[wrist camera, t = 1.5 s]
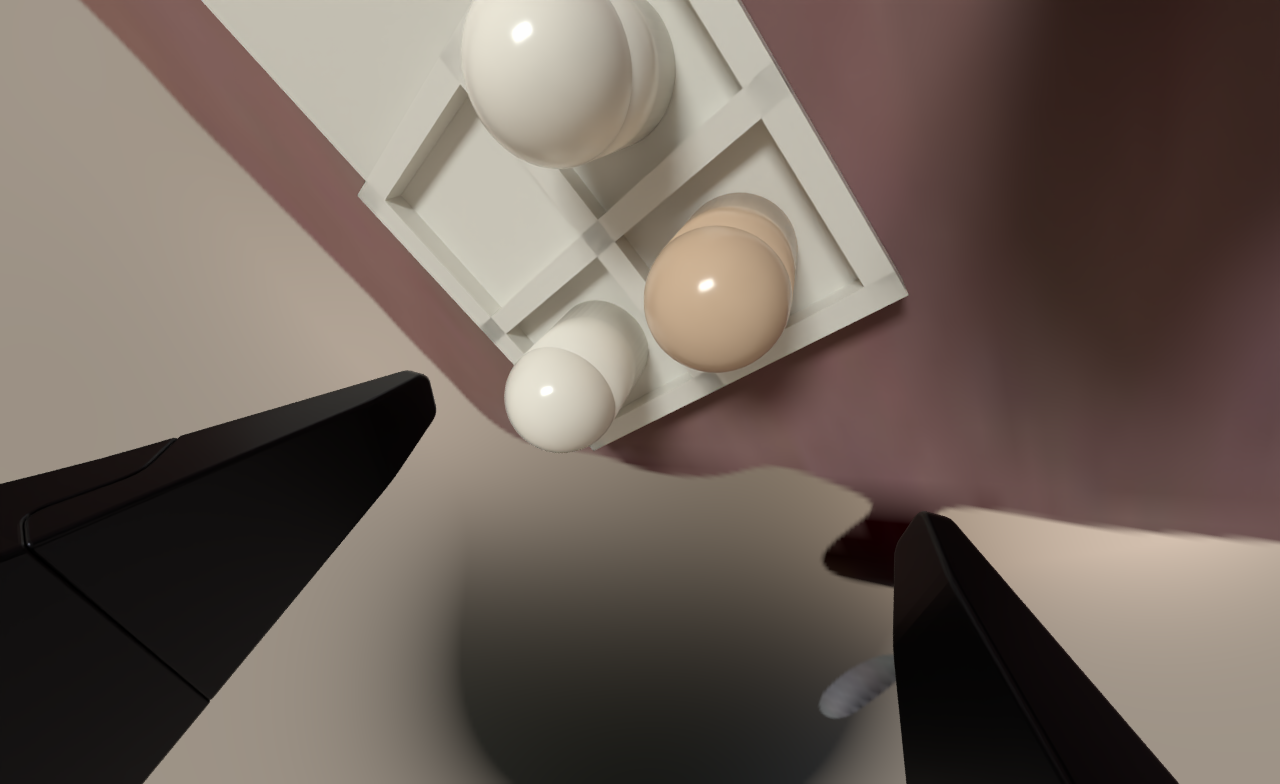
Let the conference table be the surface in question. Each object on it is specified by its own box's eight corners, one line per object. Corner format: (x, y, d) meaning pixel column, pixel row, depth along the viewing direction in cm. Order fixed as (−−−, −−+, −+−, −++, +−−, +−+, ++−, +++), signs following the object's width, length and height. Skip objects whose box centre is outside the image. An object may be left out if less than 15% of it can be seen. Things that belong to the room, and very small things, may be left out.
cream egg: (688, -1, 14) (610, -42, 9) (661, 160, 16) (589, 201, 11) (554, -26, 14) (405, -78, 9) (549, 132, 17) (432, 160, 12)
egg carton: (901, 278, 17) (908, 295, 15) (604, 432, 26) (593, 450, 24) (57, -1180, 8) (-84, -1411, 7) (52, -181, 17) (-10, -201, 16)
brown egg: (817, 209, 16) (815, 277, 11) (774, 321, 18) (756, 420, 13) (693, 179, 16) (636, 229, 11) (669, 292, 19) (614, 374, 14)
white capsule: (656, 316, 20) (599, 402, 15) (640, 395, 23) (587, 492, 17) (563, 288, 21) (477, 362, 15) (558, 368, 23) (483, 453, 18)
